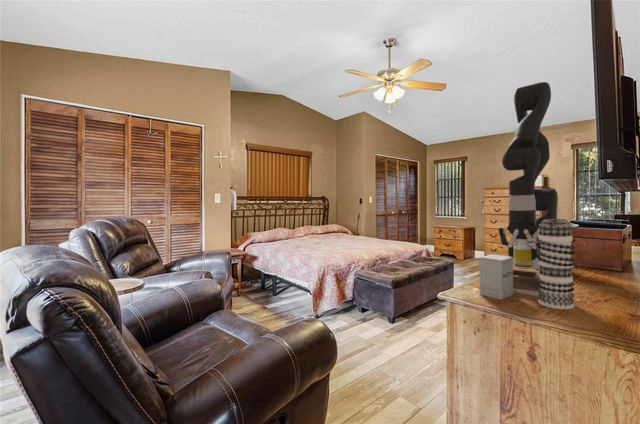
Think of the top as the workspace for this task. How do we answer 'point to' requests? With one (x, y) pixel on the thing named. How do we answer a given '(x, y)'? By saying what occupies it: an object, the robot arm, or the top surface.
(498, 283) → the supplement box
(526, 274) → the socket block
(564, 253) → the decorative candle
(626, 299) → the top surface
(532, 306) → the top surface
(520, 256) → the supplement bottle
